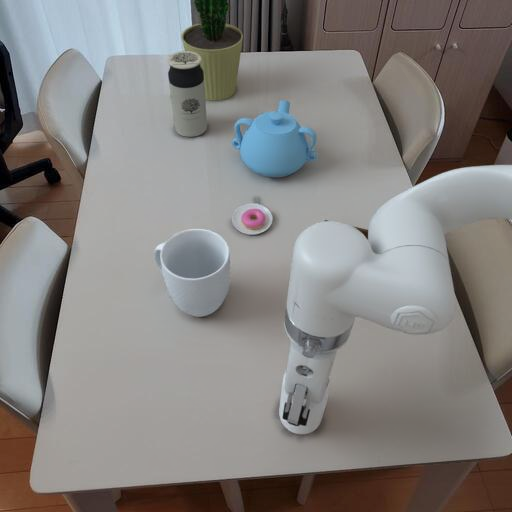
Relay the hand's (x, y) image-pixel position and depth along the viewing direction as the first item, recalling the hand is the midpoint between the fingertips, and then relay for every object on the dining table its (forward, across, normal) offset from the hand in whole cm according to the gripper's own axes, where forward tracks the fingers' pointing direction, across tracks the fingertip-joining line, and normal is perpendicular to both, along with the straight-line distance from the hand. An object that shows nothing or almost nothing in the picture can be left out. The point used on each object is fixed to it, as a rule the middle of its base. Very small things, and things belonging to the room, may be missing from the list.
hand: (303, 387), depth 67 cm
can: (+9, 0, 0) cm, 9 cm away
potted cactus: (+9, +82, +45) cm, 94 cm away
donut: (+9, +38, +20) cm, 44 cm away
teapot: (+9, +59, +21) cm, 63 cm away
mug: (+9, +15, +23) cm, 29 cm away
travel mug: (+9, +63, +44) cm, 77 cm away
